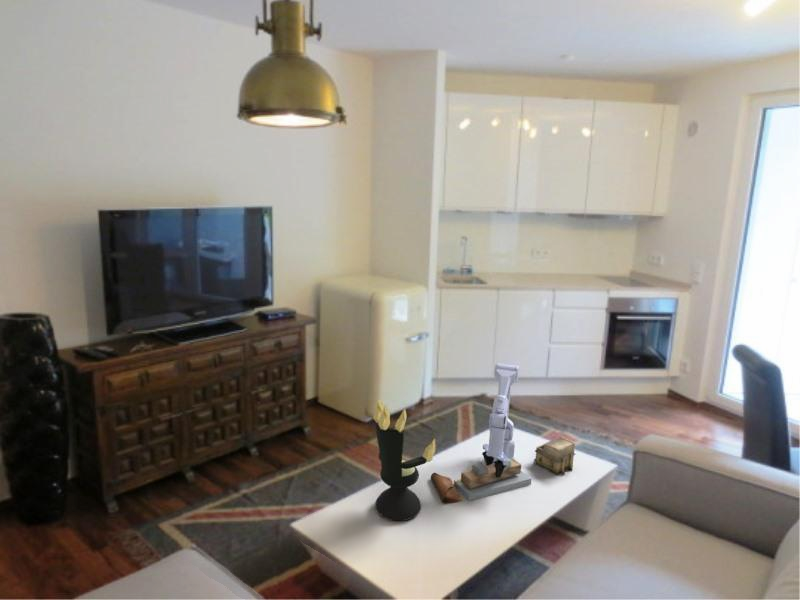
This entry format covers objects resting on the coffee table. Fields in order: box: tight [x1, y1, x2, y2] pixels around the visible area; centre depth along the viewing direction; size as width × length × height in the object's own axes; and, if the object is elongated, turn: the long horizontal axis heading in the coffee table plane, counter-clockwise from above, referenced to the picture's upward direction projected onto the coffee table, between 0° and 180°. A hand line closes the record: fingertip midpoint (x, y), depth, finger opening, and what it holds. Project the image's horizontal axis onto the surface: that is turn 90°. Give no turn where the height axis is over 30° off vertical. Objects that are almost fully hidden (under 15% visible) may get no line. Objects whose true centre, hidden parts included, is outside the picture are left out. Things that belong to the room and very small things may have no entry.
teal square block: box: [496, 457, 511, 468], centre depth 223 cm, size 4×4×2 cm
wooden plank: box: [460, 458, 522, 489], centre depth 221 cm, size 26×6×4 cm, turn 120°
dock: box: [453, 470, 532, 502], centre depth 222 cm, size 30×11×3 cm, turn 117°
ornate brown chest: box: [533, 436, 576, 476], centre depth 240 cm, size 15×14×11 cm
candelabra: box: [373, 398, 436, 522], centre depth 197 cm, size 19×22×45 cm
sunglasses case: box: [430, 472, 463, 505], centre depth 217 cm, size 18×7×7 cm
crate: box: [471, 461, 488, 475], centre depth 217 cm, size 4×4×2 cm
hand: (493, 472), depth 221 cm, fingers closed on wooden plank, 6 cm apart
